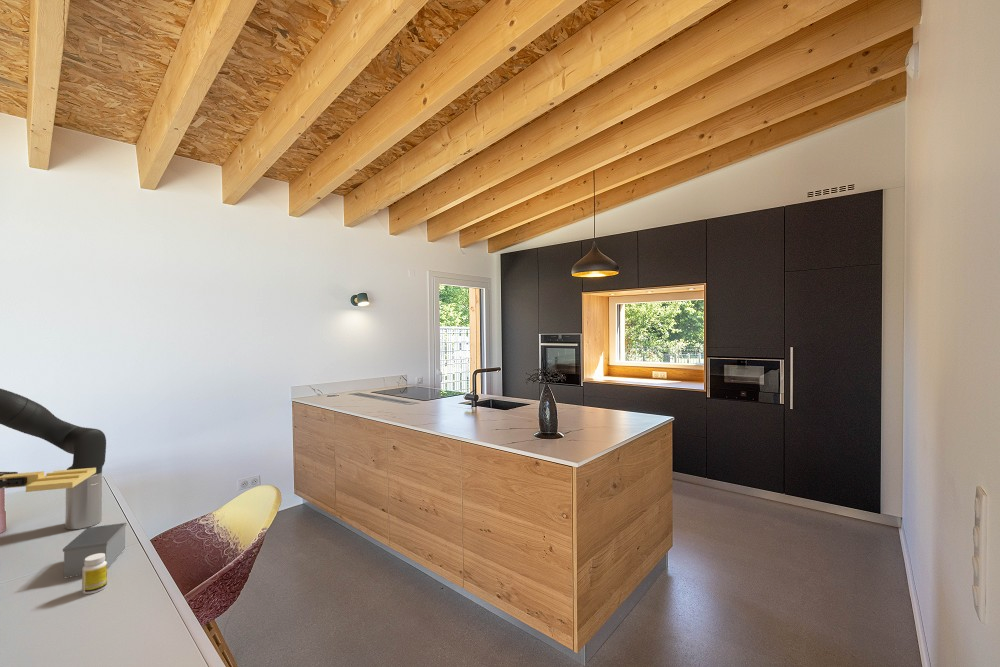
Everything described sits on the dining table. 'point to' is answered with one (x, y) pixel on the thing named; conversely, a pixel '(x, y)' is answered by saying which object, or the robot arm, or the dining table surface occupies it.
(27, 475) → the lid
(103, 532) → the grey box
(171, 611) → the dining table surface
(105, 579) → the supplement bottle
